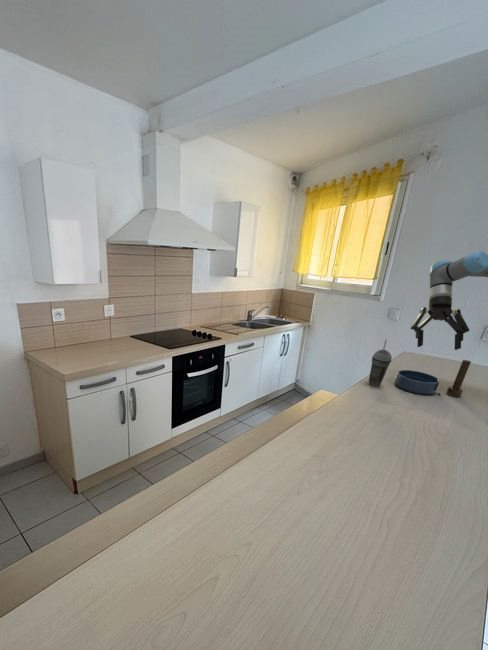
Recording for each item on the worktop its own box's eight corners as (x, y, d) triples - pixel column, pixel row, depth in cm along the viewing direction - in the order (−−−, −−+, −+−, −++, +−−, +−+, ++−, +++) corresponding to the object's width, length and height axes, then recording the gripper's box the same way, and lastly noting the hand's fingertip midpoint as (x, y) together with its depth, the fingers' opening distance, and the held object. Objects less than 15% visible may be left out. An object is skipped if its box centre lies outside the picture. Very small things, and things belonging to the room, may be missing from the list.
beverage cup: (368, 386, 138) (381, 341, 130) (362, 380, 145) (374, 337, 137) (386, 388, 137) (400, 342, 129) (379, 382, 144) (393, 338, 136)
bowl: (438, 389, 139) (443, 377, 137) (431, 398, 129) (436, 386, 127) (399, 378, 149) (402, 367, 147) (389, 386, 139) (393, 375, 137)
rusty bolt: (461, 395, 134) (475, 361, 128) (459, 398, 131) (473, 363, 125) (447, 391, 137) (460, 358, 131) (445, 394, 134) (458, 360, 128)
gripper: (468, 303, 135) (467, 352, 132) (403, 300, 140) (400, 347, 137) (481, 296, 128) (480, 347, 125) (411, 292, 133) (409, 342, 130)
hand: (438, 347), depth 131 cm, fingers open, 13 cm apart
